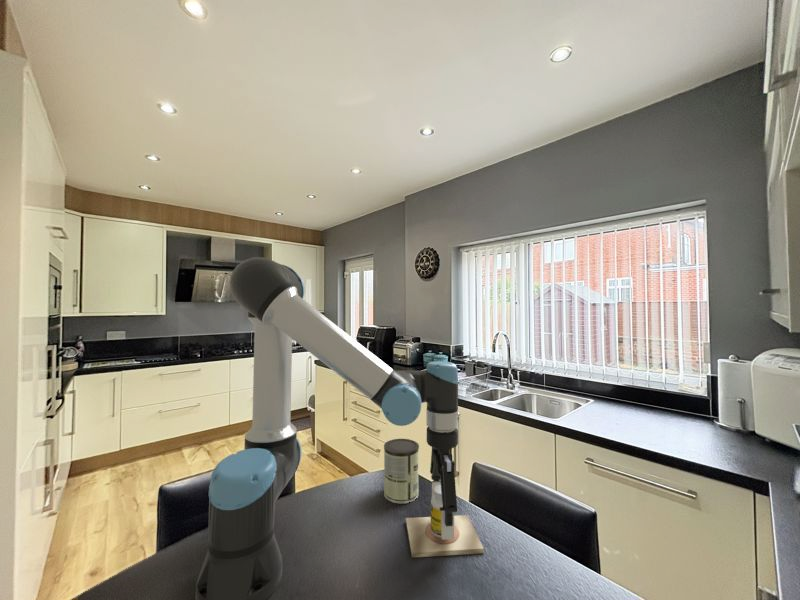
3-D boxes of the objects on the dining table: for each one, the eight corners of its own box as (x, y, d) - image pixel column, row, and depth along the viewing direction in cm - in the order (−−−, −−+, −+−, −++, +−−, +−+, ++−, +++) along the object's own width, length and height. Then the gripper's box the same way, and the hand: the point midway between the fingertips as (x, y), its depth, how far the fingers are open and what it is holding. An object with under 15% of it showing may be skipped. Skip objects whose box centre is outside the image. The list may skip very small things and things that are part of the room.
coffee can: (386, 483, 101) (386, 437, 101) (419, 485, 100) (419, 439, 100) (380, 502, 90) (381, 451, 91) (417, 505, 89) (418, 453, 90)
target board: (411, 557, 70) (411, 551, 70) (405, 522, 82) (405, 517, 82) (483, 553, 71) (483, 547, 72) (467, 519, 83) (467, 514, 83)
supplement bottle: (426, 527, 78) (426, 485, 78) (445, 521, 80) (445, 481, 81) (438, 541, 73) (438, 497, 74) (458, 535, 75) (458, 492, 76)
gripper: (472, 446, 67) (472, 557, 66) (446, 412, 90) (446, 494, 89) (436, 447, 66) (436, 559, 65) (419, 413, 89) (419, 495, 88)
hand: (442, 521), depth 77 cm, fingers open, 10 cm apart
